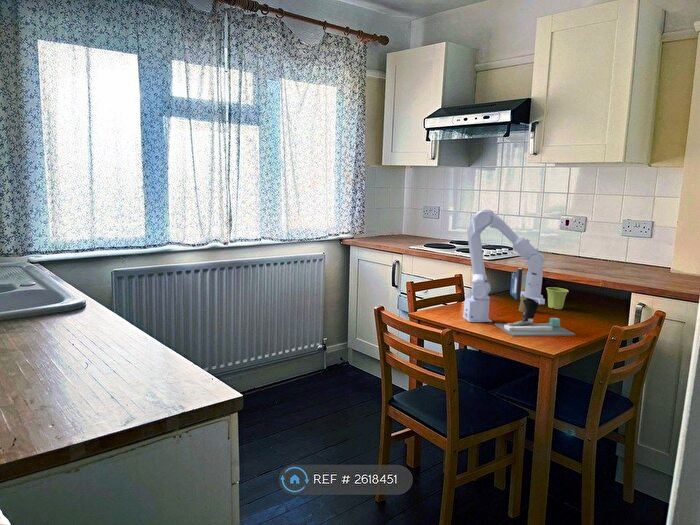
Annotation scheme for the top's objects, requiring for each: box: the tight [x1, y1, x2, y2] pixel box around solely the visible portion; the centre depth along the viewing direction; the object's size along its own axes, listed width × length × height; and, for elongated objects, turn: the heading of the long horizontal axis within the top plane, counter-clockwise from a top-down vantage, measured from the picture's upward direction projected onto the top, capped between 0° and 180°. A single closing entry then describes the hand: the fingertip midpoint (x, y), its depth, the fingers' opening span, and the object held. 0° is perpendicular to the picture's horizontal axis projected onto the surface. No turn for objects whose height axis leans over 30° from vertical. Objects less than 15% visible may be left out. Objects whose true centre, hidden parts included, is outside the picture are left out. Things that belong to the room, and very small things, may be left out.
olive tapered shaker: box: [518, 286, 527, 313], centre depth 230 cm, size 6×6×11 cm
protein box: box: [509, 268, 527, 301], centre depth 259 cm, size 10×15×16 cm
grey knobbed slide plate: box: [494, 322, 577, 337], centre depth 199 cm, size 25×15×2 cm, turn 100°
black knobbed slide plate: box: [511, 312, 534, 326], centre depth 204 cm, size 14×2×4 cm, turn 133°
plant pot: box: [546, 286, 569, 310], centre depth 239 cm, size 9×9×9 cm
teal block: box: [548, 317, 561, 327], centre depth 204 cm, size 3×2×3 cm
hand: (530, 318), depth 204 cm, fingers closed
